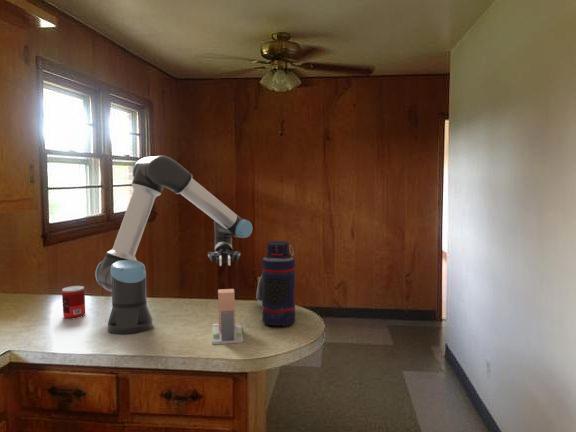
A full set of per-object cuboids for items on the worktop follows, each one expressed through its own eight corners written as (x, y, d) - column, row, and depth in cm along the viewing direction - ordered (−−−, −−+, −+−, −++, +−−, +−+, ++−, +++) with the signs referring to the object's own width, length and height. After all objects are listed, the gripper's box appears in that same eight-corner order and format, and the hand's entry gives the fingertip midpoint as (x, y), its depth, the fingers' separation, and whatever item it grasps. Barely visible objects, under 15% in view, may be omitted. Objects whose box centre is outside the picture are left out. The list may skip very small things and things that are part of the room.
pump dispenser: (281, 309, 187) (281, 272, 186) (255, 309, 187) (254, 272, 186) (282, 302, 197) (281, 267, 196) (257, 302, 197) (257, 267, 196)
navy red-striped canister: (291, 329, 163) (291, 244, 160) (258, 327, 165) (257, 244, 163) (298, 317, 176) (298, 239, 174) (268, 316, 179) (267, 238, 176)
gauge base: (212, 344, 149) (212, 338, 149) (212, 329, 164) (212, 323, 164) (243, 342, 151) (243, 336, 151) (240, 327, 166) (240, 321, 165)
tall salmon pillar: (213, 330, 159) (212, 293, 158) (213, 325, 164) (212, 289, 163) (240, 329, 161) (240, 292, 159) (240, 324, 165) (239, 288, 164)
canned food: (89, 313, 184) (88, 285, 183) (78, 319, 176) (76, 290, 175) (70, 312, 185) (69, 285, 184) (59, 318, 177) (57, 290, 176)
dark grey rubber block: (221, 341, 150) (221, 313, 149) (221, 338, 153) (220, 311, 152) (234, 340, 150) (233, 313, 150) (233, 337, 153) (233, 310, 152)
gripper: (242, 259, 197) (246, 271, 174) (205, 261, 194) (203, 272, 171) (242, 242, 196) (246, 251, 173) (204, 243, 194) (203, 252, 171)
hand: (225, 262), depth 172 cm, fingers open, 3 cm apart
